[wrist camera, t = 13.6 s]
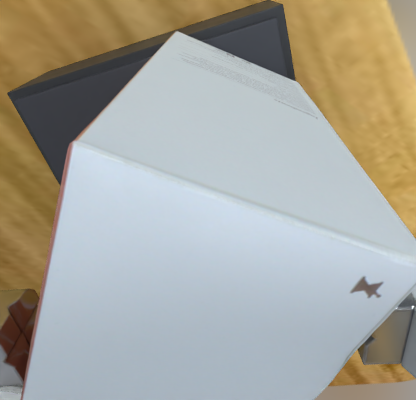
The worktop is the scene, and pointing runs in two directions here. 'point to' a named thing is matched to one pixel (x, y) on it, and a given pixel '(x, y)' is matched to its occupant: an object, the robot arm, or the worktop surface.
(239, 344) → the small box
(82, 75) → the dark gray box
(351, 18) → the worktop surface
